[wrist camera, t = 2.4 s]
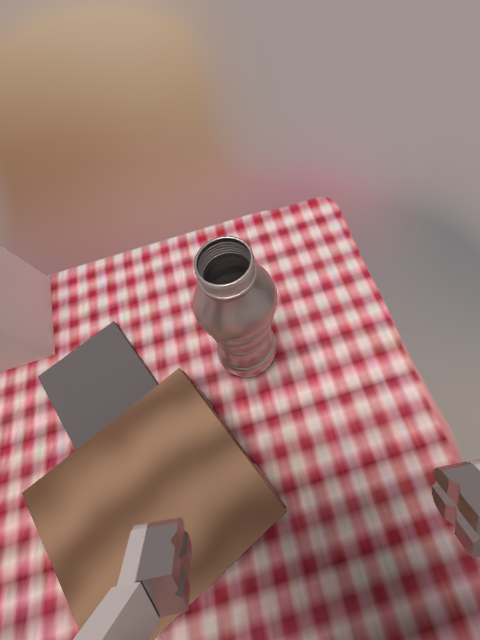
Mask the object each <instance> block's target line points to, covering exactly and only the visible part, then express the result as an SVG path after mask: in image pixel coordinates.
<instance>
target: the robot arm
mask: <svg viewBox="0 0 480 640" xmlns="http://www.w3.org/2000/svg"><path fill="white" fill-rule="evenodd" d="M433 477H434V478H435V479H436V483H435V484H434V485H433V486H432V495H433V499H434V502H435V504H436V506H437V508H438V510H439V512H440V513H441V515H442V516H443V518H444V519H445V520H447V521H448V522H450V523H451V524H453V525H454V526H455V535H456V537H457V538H458V539H459V541H460V542H461V544H462V545H463V547H464V548H465V549H466V551H467V552H468V554H469V555H470V557H471V558H474V557H480V459H479V460H474V461H470V462H462V463H457V464H452V465H447V466H442V467H438V468H436V469H435V470H434V473H433ZM184 526H185V523H184V521H183V519H182V517H179V518H173V519H167V520H161V521H156V522H149V523H144V524H138V525H134V526H133V528H132V530H131V532H130V536H129V540H128V544H127V548H126V552H125V555H124V559H123V563H122V567H121V571H120V575H119V579H118V583H117V586H114V587H111V589H110V590H109V591H108V593H107V594H106V596H105V597H104V598H103V600H102V601H101V602H100V604H99V605H98V606H97V608H96V609H95V610H94V612H93V613H92V615H91V616H90V617H89V619H88V620H87V621H86V623H85V624H84V625H83V627H82V628H81V629H80V631H79V632H78V634H77V635H76V636H75V638H74V639H73V640H150V639H151V637H152V635H153V633H154V631H155V629H156V627H157V625H158V623H159V621H160V617H164V616H169V615H173V614H178V613H182V612H187V611H188V609H189V595H190V582H189V580H188V577H187V574H188V572H189V570H190V569H191V567H192V545H191V540H190V536H189V533H188V532H186V531H184Z"/></svg>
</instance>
